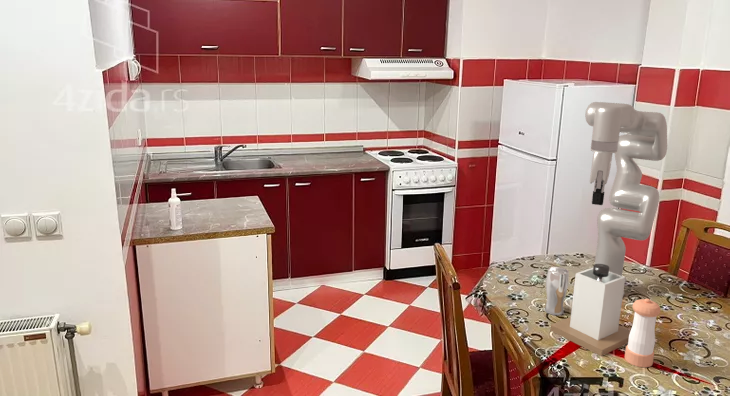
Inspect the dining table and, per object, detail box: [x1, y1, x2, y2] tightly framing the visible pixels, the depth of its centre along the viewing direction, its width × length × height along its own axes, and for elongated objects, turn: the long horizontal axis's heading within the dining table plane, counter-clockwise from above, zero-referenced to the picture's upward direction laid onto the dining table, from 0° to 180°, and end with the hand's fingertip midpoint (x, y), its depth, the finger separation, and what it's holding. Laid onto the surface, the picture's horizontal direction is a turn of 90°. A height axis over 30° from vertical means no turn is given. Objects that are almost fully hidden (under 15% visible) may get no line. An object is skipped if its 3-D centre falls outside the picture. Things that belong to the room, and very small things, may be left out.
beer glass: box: [544, 266, 570, 316], centre depth 186 cm, size 7×7×15 cm
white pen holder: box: [549, 267, 631, 357], centre depth 170 cm, size 18×18×20 cm
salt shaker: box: [624, 298, 662, 368], centre depth 156 cm, size 7×7×19 cm
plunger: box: [592, 263, 609, 282], centre depth 169 cm, size 8×8×20 cm
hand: (597, 203), depth 174 cm, fingers closed
